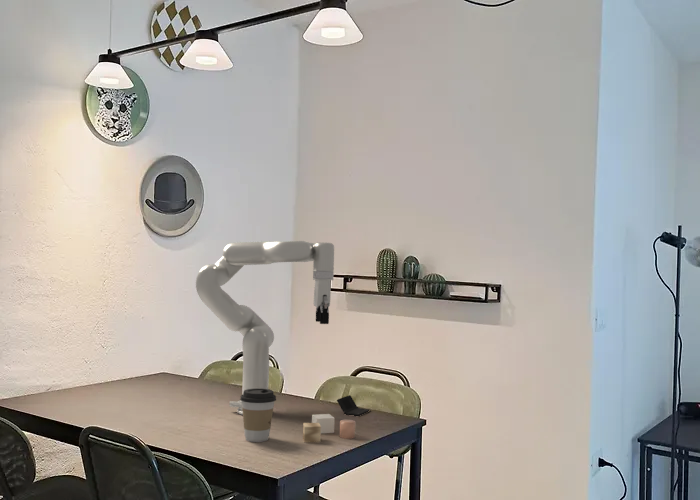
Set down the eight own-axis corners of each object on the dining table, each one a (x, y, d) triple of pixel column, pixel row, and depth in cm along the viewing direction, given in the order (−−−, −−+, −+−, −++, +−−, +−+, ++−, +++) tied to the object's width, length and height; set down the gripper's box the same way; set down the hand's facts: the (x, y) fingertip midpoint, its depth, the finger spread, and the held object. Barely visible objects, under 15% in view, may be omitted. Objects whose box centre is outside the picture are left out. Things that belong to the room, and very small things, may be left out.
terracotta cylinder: (340, 438, 218) (341, 423, 218) (338, 435, 223) (338, 419, 223) (356, 438, 219) (356, 423, 219) (353, 435, 223) (354, 419, 224)
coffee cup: (276, 443, 210) (278, 394, 210) (239, 444, 207) (241, 394, 208) (273, 434, 221) (274, 387, 221) (237, 434, 218) (239, 387, 219)
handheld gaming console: (363, 413, 250) (349, 389, 253) (348, 423, 251) (334, 400, 254) (372, 411, 261) (358, 389, 264) (357, 422, 262) (343, 399, 265)
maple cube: (304, 442, 212) (304, 426, 212) (302, 438, 217) (303, 422, 217) (320, 442, 213) (320, 426, 213) (318, 438, 218) (319, 422, 218)
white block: (316, 434, 224) (317, 418, 224) (311, 429, 229) (312, 414, 229) (334, 433, 226) (334, 417, 226) (328, 428, 231) (329, 413, 231)
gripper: (309, 275, 259) (308, 320, 258) (316, 276, 242) (315, 324, 242) (329, 275, 260) (328, 320, 260) (337, 276, 243) (336, 324, 243)
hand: (322, 322), depth 251 cm, fingers open, 9 cm apart
